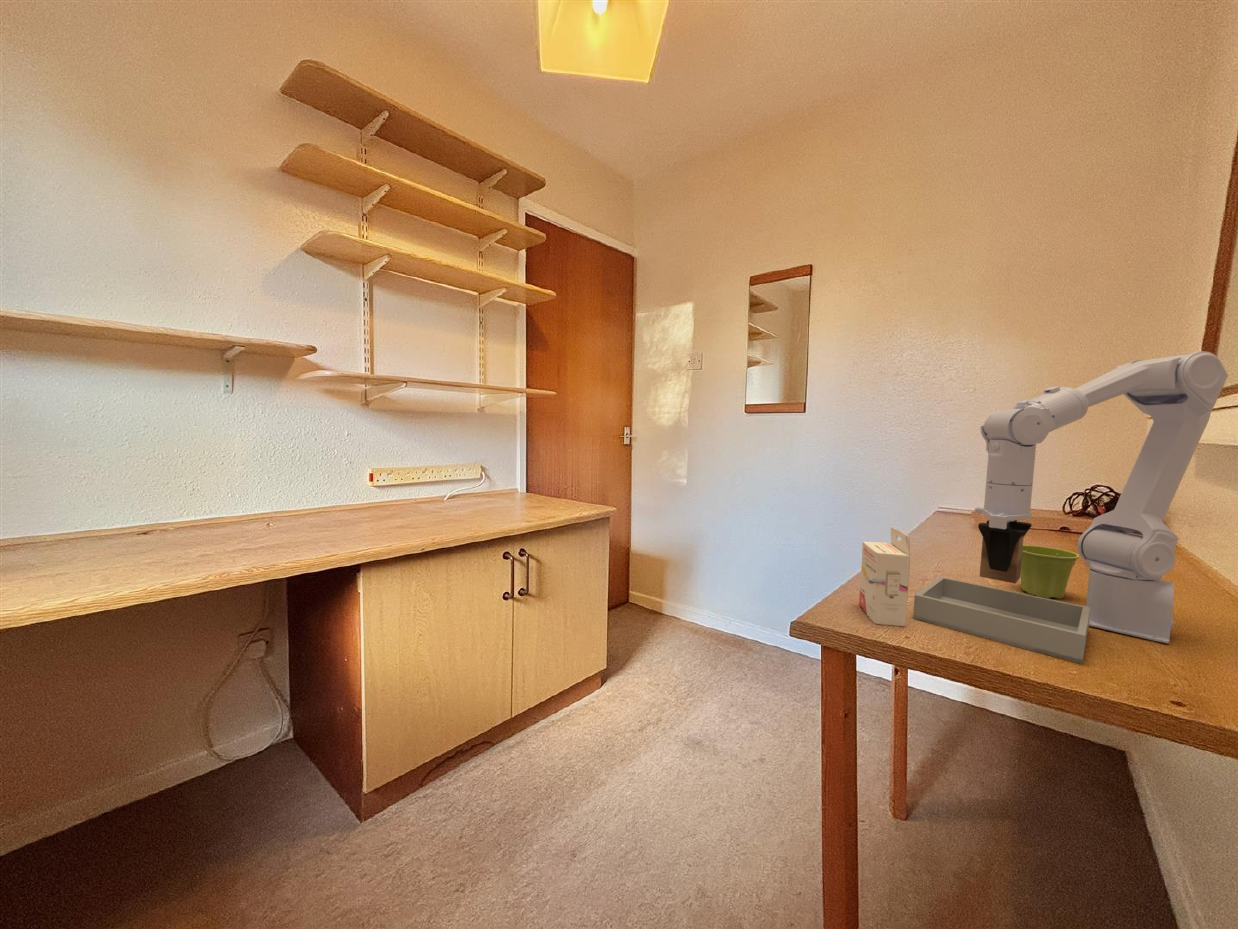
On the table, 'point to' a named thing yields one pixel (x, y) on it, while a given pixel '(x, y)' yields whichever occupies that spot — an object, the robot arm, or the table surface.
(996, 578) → the walnut block
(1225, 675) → the table surface
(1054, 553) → the plant pot
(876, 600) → the ink cartridge box
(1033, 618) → the tray bin
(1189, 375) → the robot arm
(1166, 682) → the table surface
